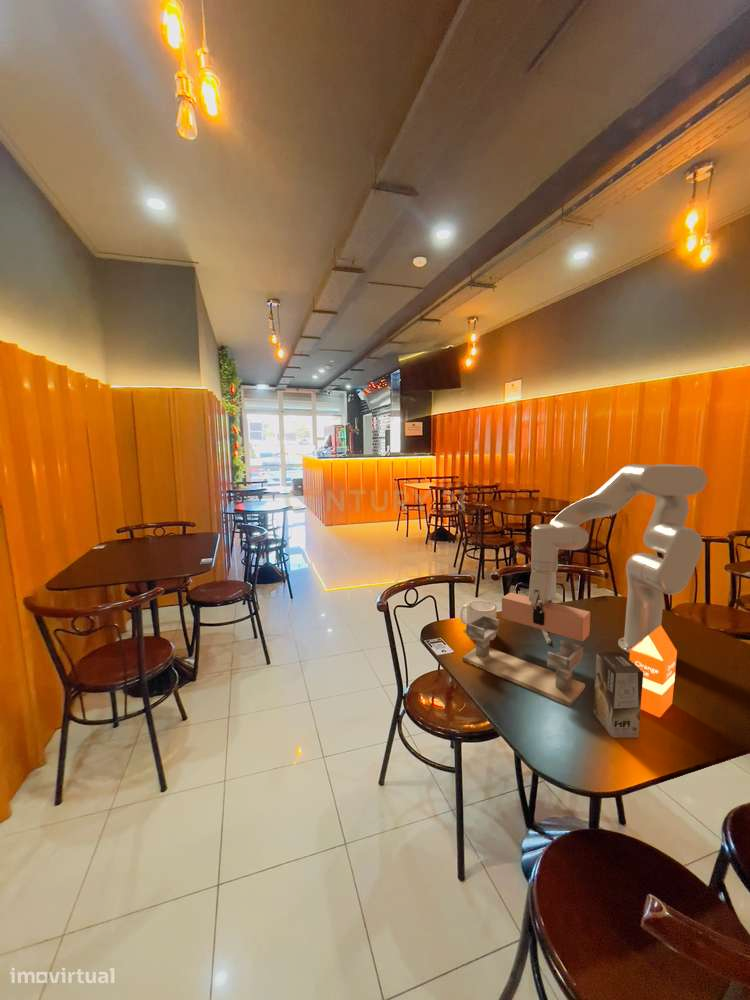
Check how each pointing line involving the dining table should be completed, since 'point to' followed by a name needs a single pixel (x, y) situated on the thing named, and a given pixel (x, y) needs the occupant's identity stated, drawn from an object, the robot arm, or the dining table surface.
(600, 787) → the dining table surface
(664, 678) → the orange juice
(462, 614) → the mug
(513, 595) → the rail
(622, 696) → the coffee box
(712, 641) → the dining table surface
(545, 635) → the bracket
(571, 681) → the cradle stand
